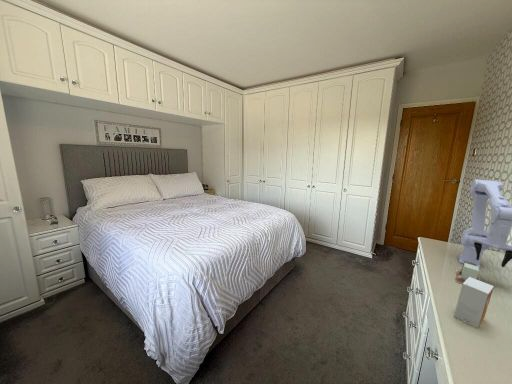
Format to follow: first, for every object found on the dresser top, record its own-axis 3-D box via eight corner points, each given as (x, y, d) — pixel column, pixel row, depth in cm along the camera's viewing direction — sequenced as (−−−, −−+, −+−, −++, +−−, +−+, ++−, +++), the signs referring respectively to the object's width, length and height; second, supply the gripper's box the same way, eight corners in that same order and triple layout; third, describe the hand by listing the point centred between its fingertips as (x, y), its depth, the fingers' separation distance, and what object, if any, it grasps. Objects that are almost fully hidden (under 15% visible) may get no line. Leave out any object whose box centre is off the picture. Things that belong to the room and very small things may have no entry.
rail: (456, 268, 107) (458, 258, 106) (478, 275, 102) (481, 264, 100) (455, 281, 96) (458, 270, 94) (480, 290, 90) (484, 278, 89)
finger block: (460, 275, 99) (464, 262, 98) (474, 280, 96) (478, 266, 95) (460, 280, 95) (464, 266, 94) (475, 285, 92) (479, 270, 91)
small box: (478, 329, 70) (488, 294, 67) (453, 316, 75) (461, 283, 72) (484, 319, 74) (494, 285, 71) (460, 307, 79) (468, 276, 77)
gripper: (474, 231, 94) (467, 259, 97) (526, 242, 84) (516, 273, 87) (474, 227, 99) (467, 254, 102) (523, 237, 89) (513, 266, 92)
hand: (489, 262), depth 95 cm, fingers open, 7 cm apart
